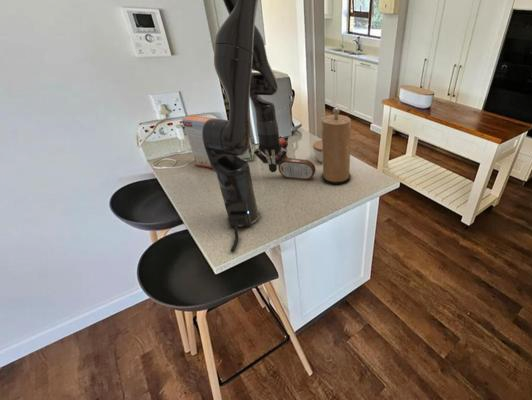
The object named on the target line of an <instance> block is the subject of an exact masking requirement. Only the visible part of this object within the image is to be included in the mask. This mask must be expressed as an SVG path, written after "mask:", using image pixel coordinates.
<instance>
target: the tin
mask: <svg viewBox="0 0 532 400" xmlns="http://www.w3.org/2000/svg"><path fill="white" fill-rule="evenodd" d="M277 169H278V171H279V174H281V176H283V177H285V178H288V179H296V180H307V181H308V180H310V179H312V178H313V177H314V175H315V173H316V166H315V164H314V163H313V162H312V161H311V160H309V159H303V158H292V157H288V158H284V159H282V160H281V161H280V163H279V165H278V166H277Z"/></svg>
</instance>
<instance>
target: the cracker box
mask: <svg viewBox="0 0 532 400" xmlns="http://www.w3.org/2000/svg"><path fill="white" fill-rule="evenodd" d="M209 119H218V117H217V118H216V117H210V116H203V115H197V114H190V115H187V116H185V117H183V118H181V120H182V121H181V122H182V123H183V127H184V131H185V135H186V136H187V140H188V144H189V146H190V150H191V152H192V156H193V159H194V162H195V166H198V167H204V168H209V169H212V167H211V164H210V161H209V159H208V156H207V153H206V150H205V147H204V144H203V140H202V129H203V126H204V124H205V122H206V121H207V120H209Z"/></svg>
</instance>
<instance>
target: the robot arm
mask: <svg viewBox="0 0 532 400" xmlns="http://www.w3.org/2000/svg"><path fill="white" fill-rule="evenodd" d="M222 1H223V3H224V6H225V8H226V11H227V13H228V16H227V18H226V19H225V21H224V22H223V23H222V24H221V26H220V28H219V29H218V31H217V32H216V34H215V37H214V47H213V48H214V50H213V54H214V55H213V66H214V70H215V73H216V75H217V78H218V79H219V82H220V84H221V85H222V87H223V90H224V92H225V94H226V96H227V100H228V105H229V119H222V118H217V119H209V120H207V121H206V122H205V124H204V126H203V129H202V140H203V144H204V147H205V150H206V153H207V156H208V159H209V161H210V164H211V167H212V168H211V169H212V171H214V172H215V174H216V178H217V182H218V185H219V186H218V187H219V190H220V192H221V196H222V200H223V203H224V207H225V210H226V214H227V220H228V223H229V226H230V228H234V240H233V241H234V242H233V244H232V246H231V248H230V252H235V251H236V247H237V245H238V243H239V228H251V227H252V225H254V224H255V223H257V221H258V220H259V219H260V213H259V209H258V204H257V200H256V194H255V190H254V185H253V180H252V174H251V169H250V165H249V162H248V161H245V160H244V159H242V158H240V157H239V156H241V155H243V154H245V153H246V151H247V149H248V147H249V142H250V140H251V111H250V110H251V108H250V107H251V106H250V105H251V103H252V106H253V108H254V113H255V122H256V123H255V124H256V131H257V137H258V143H259V144H258V148H255V149H254V151H253V155H255V156H256V157H257V158H258V159H259V160H260V161H261V162H262V163H264V164H268V170H269V172H271V173H276V171H277V170H278V166H277V165H278V164H276V163H279V164H280V162H281V160H282V159H283V158H284V156H285V155H287V154H288V148H286V149H283V148H282V146H281V144H280V140H279V138H280V133H279V124H278V120H277V114H276V106H275V103H274V102H272V101H270V100H266V99H264V98H263V97H262V96H274V95H277V92H278V90H279V83H278V80H277V77H276V74H275V73H274V71H273V69H272V67H271V65H270V63H269V60H268V55H267V51H266V45H265V41H264V38H263V36H262V33H261V32H260V30H259V28H258V26H257V25H256V17H257V8H258V5H259V0H222ZM253 71H255V72H253ZM280 150H281V155H280V156H279V157H278V158H277V159H276V155H277V154H278V153H279V151H280Z"/></svg>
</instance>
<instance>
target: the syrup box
mask: <svg viewBox="0 0 532 400" xmlns="http://www.w3.org/2000/svg"><path fill="white" fill-rule="evenodd" d="M239 157H240V158H242V159H244V160H245V161H246V162H250V161H252V162H253V161H254V151H253V147H252V140H251V139H250V142H249V147H248V149H247V151H246V153H245V154H243V155H241V156H239Z"/></svg>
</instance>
